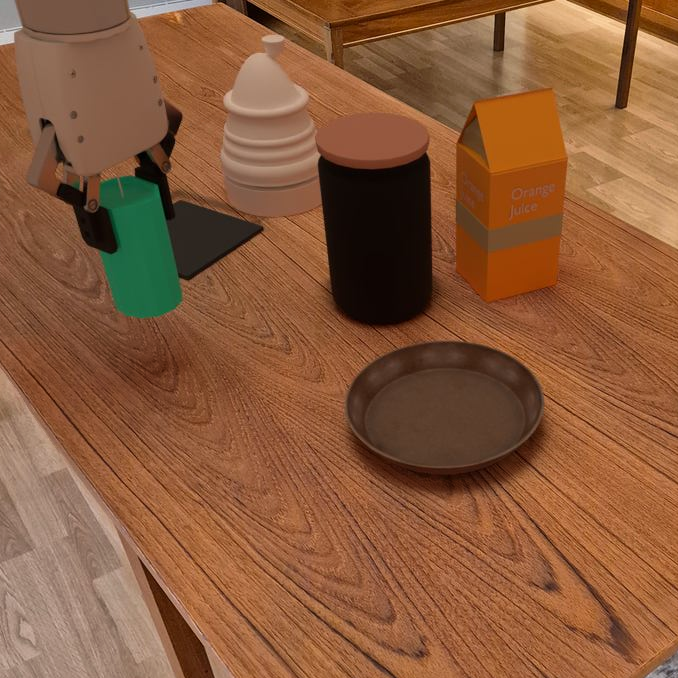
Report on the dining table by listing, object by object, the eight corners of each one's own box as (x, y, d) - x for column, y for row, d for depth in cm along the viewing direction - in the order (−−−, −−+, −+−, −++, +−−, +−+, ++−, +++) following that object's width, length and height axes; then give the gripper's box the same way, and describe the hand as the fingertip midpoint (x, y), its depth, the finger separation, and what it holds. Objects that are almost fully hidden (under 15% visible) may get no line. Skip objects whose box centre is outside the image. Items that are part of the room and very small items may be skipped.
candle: (150, 325, 78) (116, 198, 70) (100, 305, 80) (61, 178, 72) (197, 294, 82) (170, 169, 74) (148, 275, 84) (117, 151, 76)
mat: (101, 249, 102) (100, 245, 101) (181, 203, 110) (180, 199, 109) (188, 280, 97) (187, 276, 97) (264, 230, 105) (263, 226, 105)
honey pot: (304, 161, 119) (286, 16, 106) (347, 201, 111) (333, 49, 99) (212, 183, 114) (181, 33, 101) (250, 226, 106) (222, 69, 93)
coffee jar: (413, 266, 100) (407, 105, 88) (447, 317, 93) (446, 149, 81) (321, 285, 97) (301, 120, 84) (349, 338, 90) (332, 167, 77)
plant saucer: (343, 495, 74) (339, 468, 72) (350, 367, 87) (347, 341, 84) (553, 488, 75) (556, 461, 73) (530, 362, 88) (532, 337, 86)
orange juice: (557, 285, 98) (574, 101, 84) (486, 303, 95) (492, 116, 81) (522, 252, 103) (533, 73, 89) (454, 269, 100) (454, 86, 86)
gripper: (123, -34, 70) (169, 181, 83) (-68, 25, 59) (19, 263, 72) (196, -16, 68) (232, 203, 81) (11, 49, 57) (86, 291, 70)
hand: (131, 229), depth 76 cm, fingers closed on candle, 6 cm apart
